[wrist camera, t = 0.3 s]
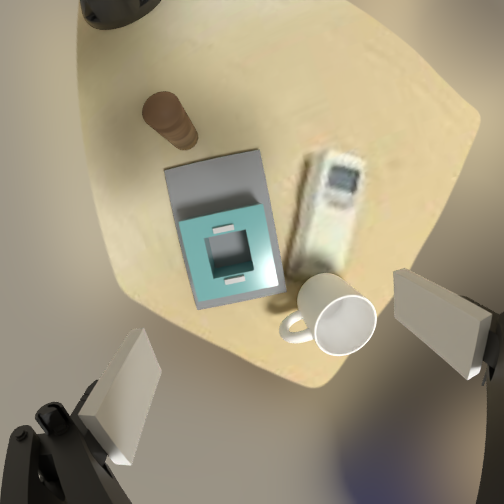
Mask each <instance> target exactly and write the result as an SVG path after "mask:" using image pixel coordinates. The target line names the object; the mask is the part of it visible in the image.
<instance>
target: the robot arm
mask: <svg viewBox="0 0 504 504" xmlns="http://www.w3.org/2000/svg"><path fill="white" fill-rule="evenodd" d="M160 1H161V0H80V3H81V9H82V14H83V16H84V18H85V20H86V21H87V22H88V23H89V24H90V25H91V26H92V27H94V28H97V29H103V30H107V29H114V28H119V27H122V26H125V25H128V24H130V23H132V22H134V21H136V20H138V19H140V18H141V17H143V16H145V15H146V14H147V13H149V12H150V11H151V10H152V9H154V8H155V7H156V6H157V5H158V3H159V2H160ZM393 277H394V317H395V318H396V319H397V320H398V321H399V322H401V323H402V324H403V325H404V326H405V327H406V328H408V329H409V330H410V331H411V332H412V333H414V334H415V335H416V336H417V337H418V338H420V339H421V340H422V341H423V342H424V343H426V344H427V345H428V346H429V347H430V348H431V349H432V350H434V351H435V352H436V353H437V354H438V355H439V356H441V357H442V358H443V359H444V360H445V361H446V362H447V363H448V364H450V365H451V366H452V367H453V368H454V369H456V371H458V372H459V373H460V374H461V375H462V376H463V377H464V378H466V380H469V379H470V378H472V377H473V376H475V375H476V374H478V373H479V372H480V368H481V365H482V361H484V362H486V363H487V364H488V365H487V368H486V372H485V375H484V378H483V382H482V386H484V383H485V381H486V384H487V425H486V441H485V453H484V461H483V468H482V475H481V481H480V486H479V492H478V496H477V500H476V504H504V312H503V313H501V314H500V315H499V314H497V313H495V312H494V311H492V310H490V309H488V308H486V307H484V306H483V305H480V304H479V303H477V302H474V301H473V300H472V299H470V298H468V297H465V296H460V295H457V294H455V293H453V292H451V291H449V290H447V289H445V288H443V287H441V286H439V285H437V284H435V283H433V282H432V281H430V280H428V279H426V278H423V277H422V276H420V275H418V274H416V273H414V272H412V271H410V270H408V269H406V268H403V269H400V270H396V271H393ZM161 372H162V371H161V368H160V366H159V364H158V361H157V359H156V356H155V354H154V352H153V349H152V347H151V344H150V342H149V339H148V337H147V334H146V331H145V329H144V328H140V329H132V330H131V331H130V332H129V334H128V335H127V337H126V338H125V340H124V341H123V343H122V344H121V346H120V347H119V349H118V350H117V352H116V353H115V355H114V357H113V358H112V360H111V361H110V363H109V364H108V366H107V368H106V369H105V371H104V372H103V374H102V375H101V377H100V379H99V380H96V381H94V382H93V383H92V384H91V385H90V386H89V387H88V388H87V390H86V391H85V393H84V395H83V396H82V398H81V399H80V401H79V402H78V404H77V406H76V408H75V409H74V411H73V412H72V414H71V416H69V414H68V413H67V411H66V410H65V408H64V407H63V405H62V404H61V403H59V402H51V403H48V404H46V405H44V406H42V407H41V408H40V409H39V410H38V411H37V413H36V415H35V419H36V421H37V422H38V424H39V425H40V426H41V428H42V429H43V430H44V432H45V433H44V434H36V433H35V431H34V430H33V429H32V427H31V426H28V425H23V426H20V427H18V428H16V429H15V430H14V431H13V433H12V434H11V436H10V439H9V444H8V449H7V454H6V460H5V466H4V472H3V479H2V487H1V498H0V504H132V503H131V501H130V500H129V498H128V497H127V495H126V494H125V492H124V491H123V489H122V488H121V486H120V485H119V483H118V481H117V480H116V478H115V476H114V474H113V473H112V471H111V469H110V468H109V466H108V465H107V464H106V463H105V460H106V457H107V455H108V456H109V457H110V459H111V460H112V461H113V462H114V463H115V464H121V465H132V462H133V459H134V456H135V452H136V449H137V445H138V442H139V439H140V436H141V433H142V430H143V426H144V423H145V420H146V417H147V414H148V411H149V408H150V405H151V402H152V398H153V396H154V393H155V390H156V387H157V384H158V381H159V378H160V375H161ZM38 474H39V475H40V478H39V475H38Z"/></svg>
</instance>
